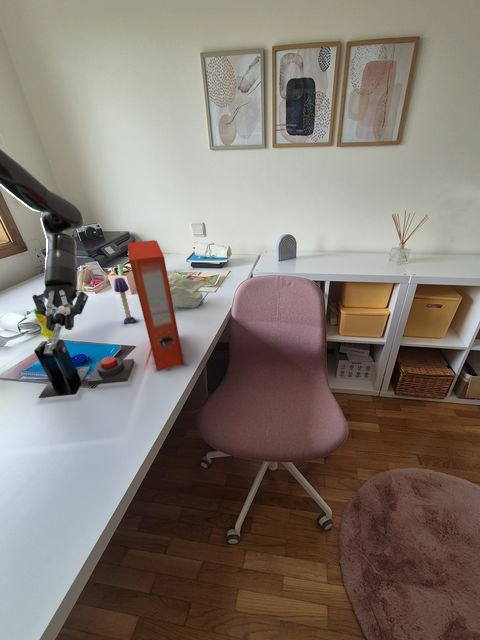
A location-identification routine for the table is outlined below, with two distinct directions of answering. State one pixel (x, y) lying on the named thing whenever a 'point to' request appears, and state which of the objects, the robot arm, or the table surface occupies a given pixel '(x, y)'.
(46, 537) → the table surface
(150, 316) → the file binder
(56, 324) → the lever
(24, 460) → the table surface
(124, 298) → the toy lamp
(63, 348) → the black stand
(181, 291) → the wavy plaster lump
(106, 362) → the disc
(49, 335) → the toy figure
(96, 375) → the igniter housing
